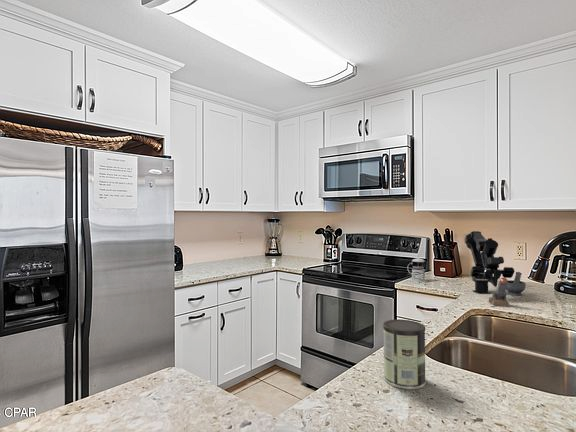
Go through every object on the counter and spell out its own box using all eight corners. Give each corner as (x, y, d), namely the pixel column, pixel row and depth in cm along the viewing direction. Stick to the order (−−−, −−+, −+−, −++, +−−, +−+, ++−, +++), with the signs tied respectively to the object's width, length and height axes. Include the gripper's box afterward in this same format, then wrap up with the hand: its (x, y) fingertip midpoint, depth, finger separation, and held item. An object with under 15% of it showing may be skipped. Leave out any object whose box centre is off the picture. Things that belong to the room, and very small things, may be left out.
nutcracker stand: (488, 302, 172) (488, 290, 172) (502, 302, 170) (502, 291, 170) (494, 306, 164) (493, 294, 164) (508, 306, 163) (508, 294, 163)
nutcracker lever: (495, 295, 167) (499, 277, 161) (502, 295, 167) (506, 277, 160) (496, 299, 165) (501, 281, 159) (503, 299, 164) (508, 281, 158)
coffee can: (408, 369, 96) (408, 317, 96) (434, 386, 86) (434, 328, 86) (375, 374, 93) (375, 320, 93) (398, 392, 83) (398, 332, 83)
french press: (425, 283, 221) (425, 244, 221) (406, 282, 226) (406, 243, 226) (427, 281, 230) (426, 243, 230) (408, 279, 235) (408, 242, 235)
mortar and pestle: (520, 297, 181) (519, 274, 182) (501, 294, 189) (500, 272, 189) (529, 294, 188) (529, 272, 188) (510, 292, 195) (510, 270, 196)
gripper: (471, 250, 178) (477, 276, 167) (513, 251, 173) (522, 277, 163) (467, 263, 186) (473, 288, 175) (507, 264, 181) (515, 290, 170)
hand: (495, 286), depth 171 cm, fingers closed
